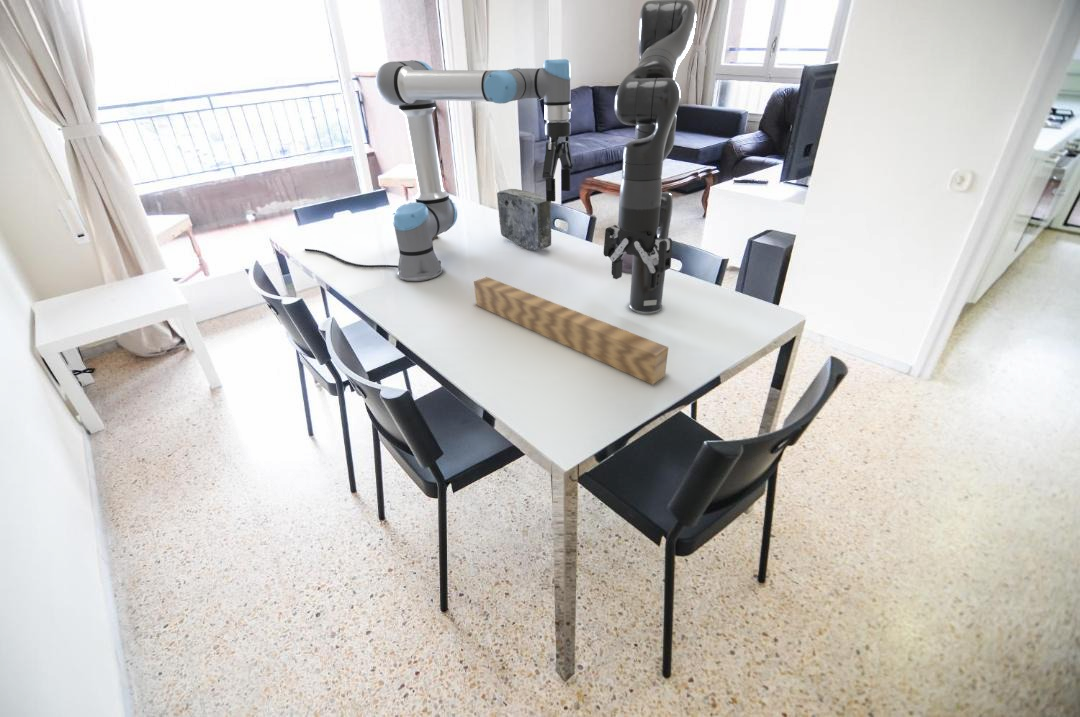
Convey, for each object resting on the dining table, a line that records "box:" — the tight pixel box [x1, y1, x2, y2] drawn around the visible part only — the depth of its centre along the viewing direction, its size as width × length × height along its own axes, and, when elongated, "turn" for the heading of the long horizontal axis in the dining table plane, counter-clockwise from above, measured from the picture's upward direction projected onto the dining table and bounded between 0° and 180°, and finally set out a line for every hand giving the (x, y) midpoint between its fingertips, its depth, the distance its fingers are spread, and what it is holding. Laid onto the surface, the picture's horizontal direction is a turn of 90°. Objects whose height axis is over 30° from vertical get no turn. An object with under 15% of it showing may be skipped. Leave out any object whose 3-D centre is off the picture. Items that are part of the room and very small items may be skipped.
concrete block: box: [496, 188, 552, 251], centre depth 192 cm, size 27×9×20 cm, turn 36°
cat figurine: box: [621, 252, 633, 274], centre depth 170 cm, size 8×8×12 cm
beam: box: [473, 276, 669, 386], centre depth 132 cm, size 64×5×8 cm, turn 45°
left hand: (558, 195), depth 156 cm, fingers open, 13 cm apart
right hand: (634, 283), depth 100 cm, fingers open, 8 cm apart
